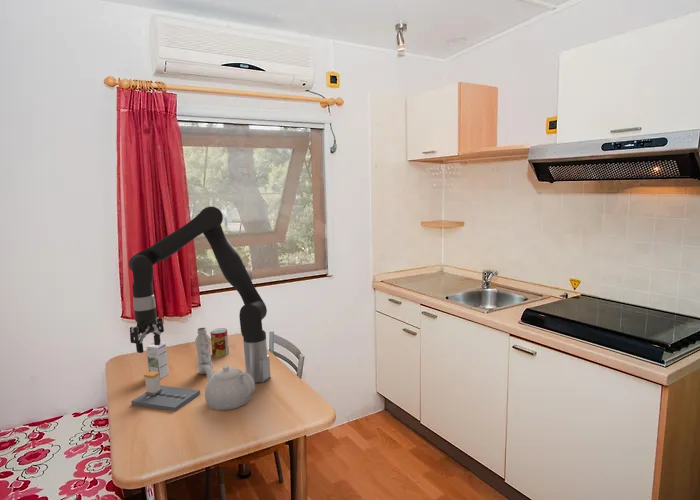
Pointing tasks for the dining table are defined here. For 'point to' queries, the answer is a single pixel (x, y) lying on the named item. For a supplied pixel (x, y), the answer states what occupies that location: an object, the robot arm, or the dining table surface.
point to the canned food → (219, 342)
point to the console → (167, 398)
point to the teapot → (228, 388)
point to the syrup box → (157, 359)
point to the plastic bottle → (203, 350)
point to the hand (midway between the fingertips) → (149, 348)
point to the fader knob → (152, 383)
